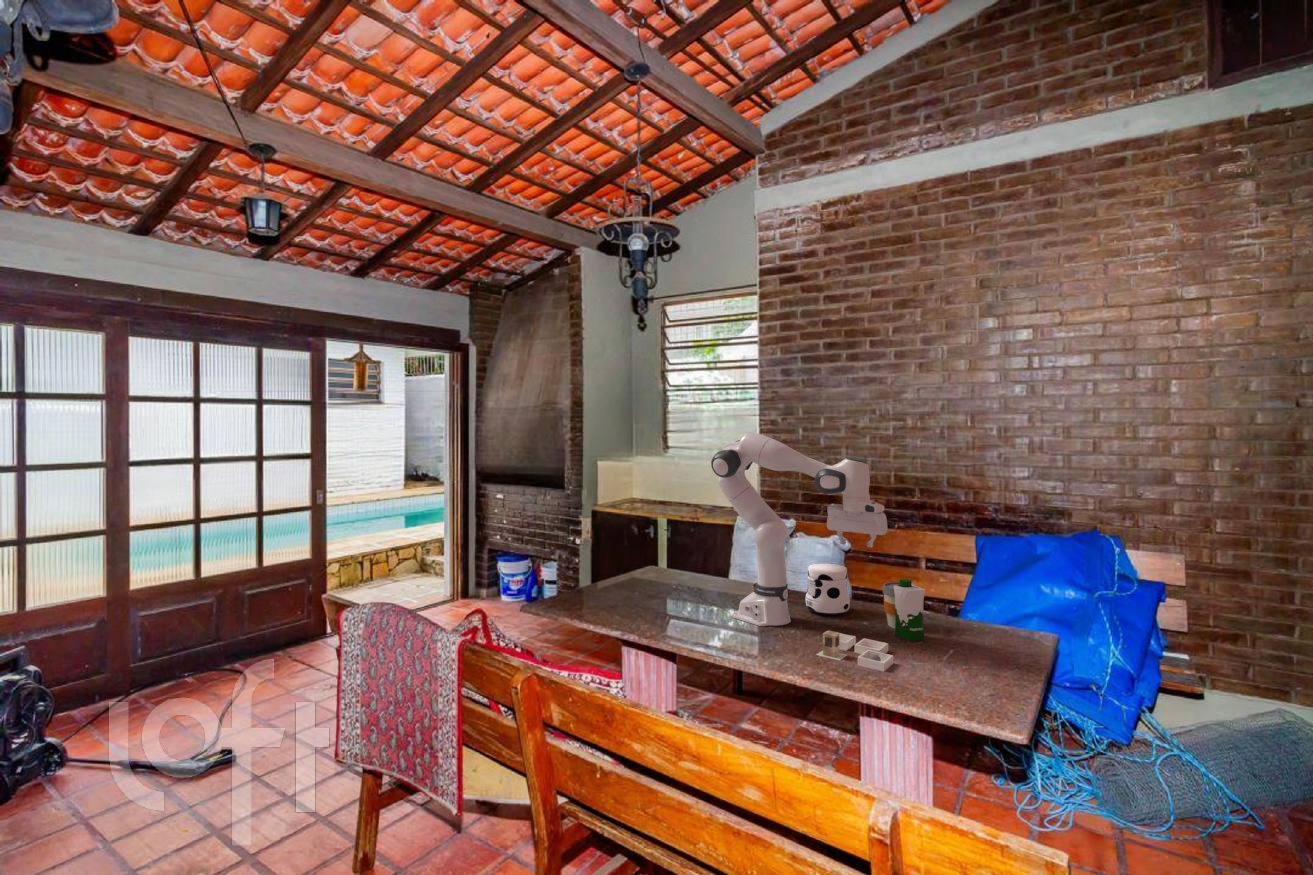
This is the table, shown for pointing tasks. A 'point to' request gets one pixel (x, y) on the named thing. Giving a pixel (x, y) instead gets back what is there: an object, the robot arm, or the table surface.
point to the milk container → (827, 589)
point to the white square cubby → (871, 646)
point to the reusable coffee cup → (890, 602)
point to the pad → (832, 657)
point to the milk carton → (909, 611)
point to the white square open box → (877, 665)
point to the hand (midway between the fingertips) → (856, 545)
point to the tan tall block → (831, 644)
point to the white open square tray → (847, 641)
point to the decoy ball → (875, 657)
